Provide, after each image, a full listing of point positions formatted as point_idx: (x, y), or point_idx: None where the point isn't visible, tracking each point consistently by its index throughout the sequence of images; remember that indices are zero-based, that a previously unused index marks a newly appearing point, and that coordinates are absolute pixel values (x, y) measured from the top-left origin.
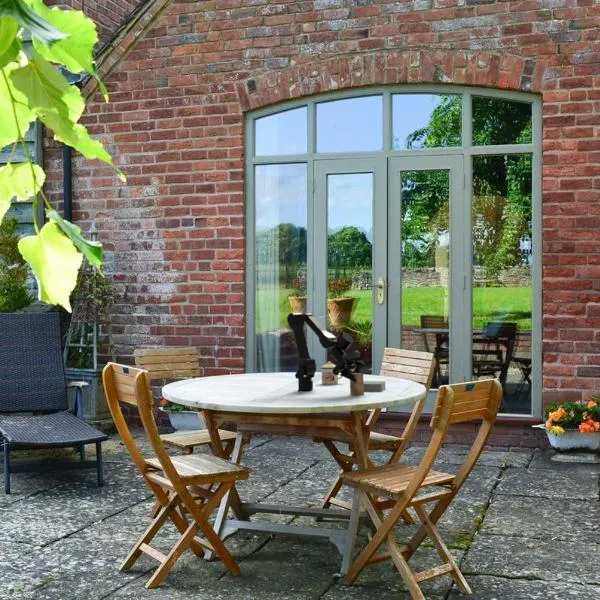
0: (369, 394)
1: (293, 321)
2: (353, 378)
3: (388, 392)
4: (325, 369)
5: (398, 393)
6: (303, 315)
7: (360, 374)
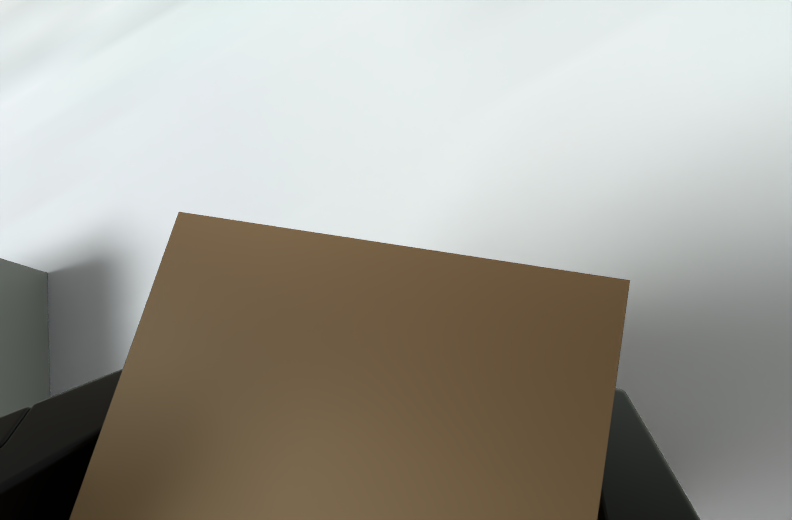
0: None
1: None
2: (663, 496)
3: (135, 144)
4: None
5: (204, 3)
6: None
7: (362, 249)
